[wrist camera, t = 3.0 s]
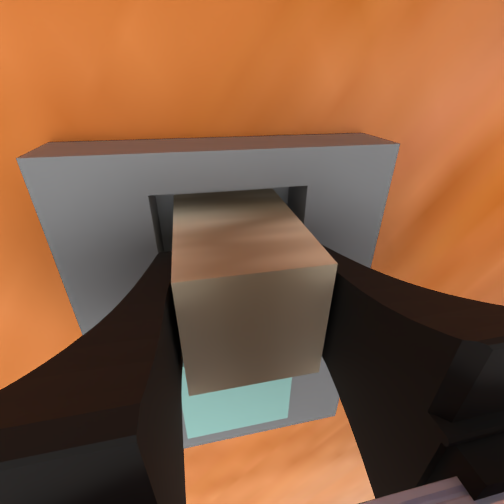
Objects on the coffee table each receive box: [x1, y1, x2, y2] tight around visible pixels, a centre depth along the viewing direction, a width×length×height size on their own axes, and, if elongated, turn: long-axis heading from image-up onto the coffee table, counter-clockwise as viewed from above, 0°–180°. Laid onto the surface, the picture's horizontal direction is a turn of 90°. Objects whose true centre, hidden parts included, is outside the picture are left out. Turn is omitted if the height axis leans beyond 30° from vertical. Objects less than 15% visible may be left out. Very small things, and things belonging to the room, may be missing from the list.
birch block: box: [171, 189, 338, 396], centre depth 11 cm, size 4×4×6 cm
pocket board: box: [16, 133, 400, 449], centre depth 14 cm, size 12×16×3 cm
